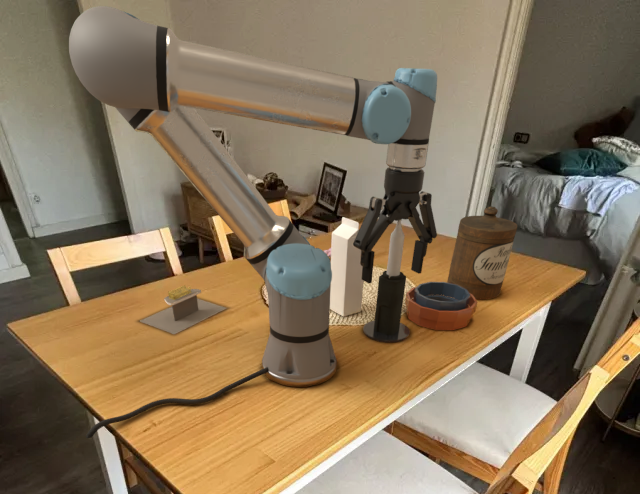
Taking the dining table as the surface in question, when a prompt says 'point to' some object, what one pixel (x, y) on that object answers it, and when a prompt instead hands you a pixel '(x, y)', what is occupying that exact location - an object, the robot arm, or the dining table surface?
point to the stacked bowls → (440, 305)
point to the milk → (346, 270)
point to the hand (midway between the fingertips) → (391, 276)
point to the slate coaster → (377, 336)
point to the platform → (182, 311)
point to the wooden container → (482, 253)
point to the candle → (391, 287)
